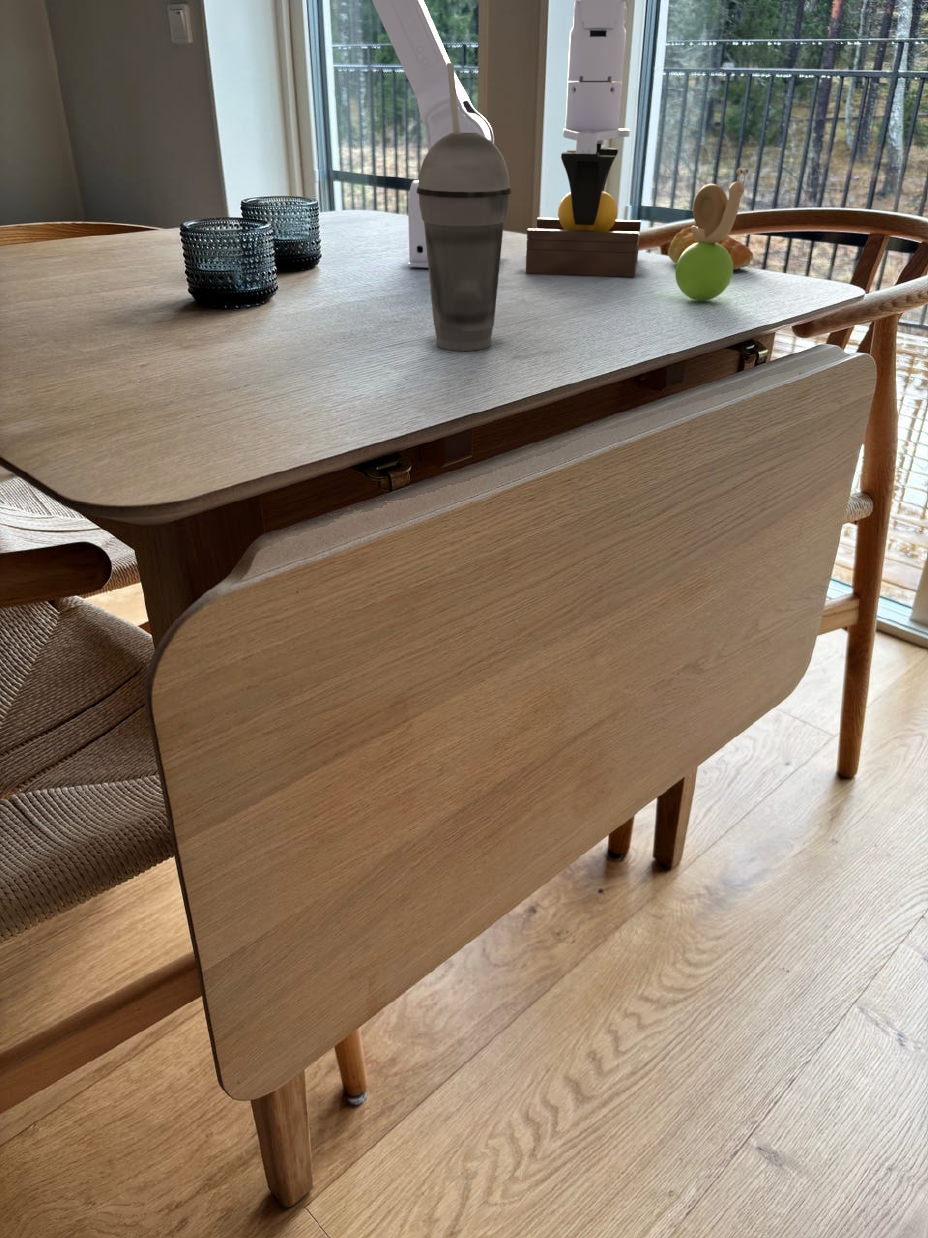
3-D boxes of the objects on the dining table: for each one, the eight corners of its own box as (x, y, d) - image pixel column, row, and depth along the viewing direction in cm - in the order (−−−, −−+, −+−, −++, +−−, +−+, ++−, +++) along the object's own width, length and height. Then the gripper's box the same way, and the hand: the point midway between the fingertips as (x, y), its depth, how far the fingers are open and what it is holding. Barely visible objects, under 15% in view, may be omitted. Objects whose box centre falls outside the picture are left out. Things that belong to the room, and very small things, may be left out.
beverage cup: (478, 359, 73) (481, 61, 63) (402, 347, 77) (393, 61, 67) (523, 340, 79) (533, 62, 69) (450, 329, 82) (449, 62, 72)
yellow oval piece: (554, 236, 105) (557, 191, 103) (559, 230, 109) (561, 187, 107) (614, 238, 104) (618, 192, 102) (616, 232, 108) (620, 188, 105)
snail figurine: (703, 310, 89) (721, 169, 83) (661, 297, 94) (674, 163, 88) (747, 304, 91) (768, 167, 85) (703, 292, 96) (720, 161, 90)
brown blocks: (525, 273, 105) (527, 229, 103) (536, 257, 113) (537, 217, 111) (634, 277, 103) (638, 233, 101) (637, 261, 111) (641, 220, 109)
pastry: (763, 267, 108) (768, 232, 106) (731, 276, 104) (736, 239, 102) (693, 257, 114) (696, 223, 112) (660, 265, 110) (663, 229, 108)
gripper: (631, 82, 92) (619, 231, 99) (635, 80, 104) (624, 213, 111) (558, 82, 93) (552, 229, 100) (571, 80, 105) (565, 212, 112)
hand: (586, 221), depth 106 cm, fingers closed on yellow oval piece, 4 cm apart
